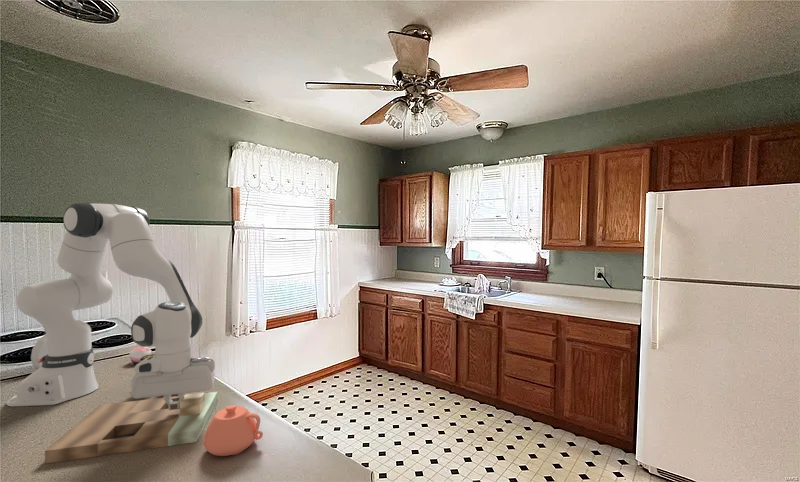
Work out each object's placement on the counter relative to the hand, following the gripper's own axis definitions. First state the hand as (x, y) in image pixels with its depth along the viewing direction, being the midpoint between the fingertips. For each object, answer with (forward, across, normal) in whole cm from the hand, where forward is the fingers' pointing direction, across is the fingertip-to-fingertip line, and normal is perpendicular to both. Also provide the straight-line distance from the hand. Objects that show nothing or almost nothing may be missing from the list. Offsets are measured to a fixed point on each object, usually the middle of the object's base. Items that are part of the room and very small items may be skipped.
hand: (175, 408), depth 102 cm
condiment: (+4, +17, -28) cm, 33 cm away
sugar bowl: (+5, -18, +17) cm, 25 cm away
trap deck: (+4, +8, 0) cm, 9 cm away
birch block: (+1, -4, 0) cm, 5 cm away
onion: (+4, +32, -61) cm, 69 cm away
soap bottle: (+4, +62, -64) cm, 89 cm away
